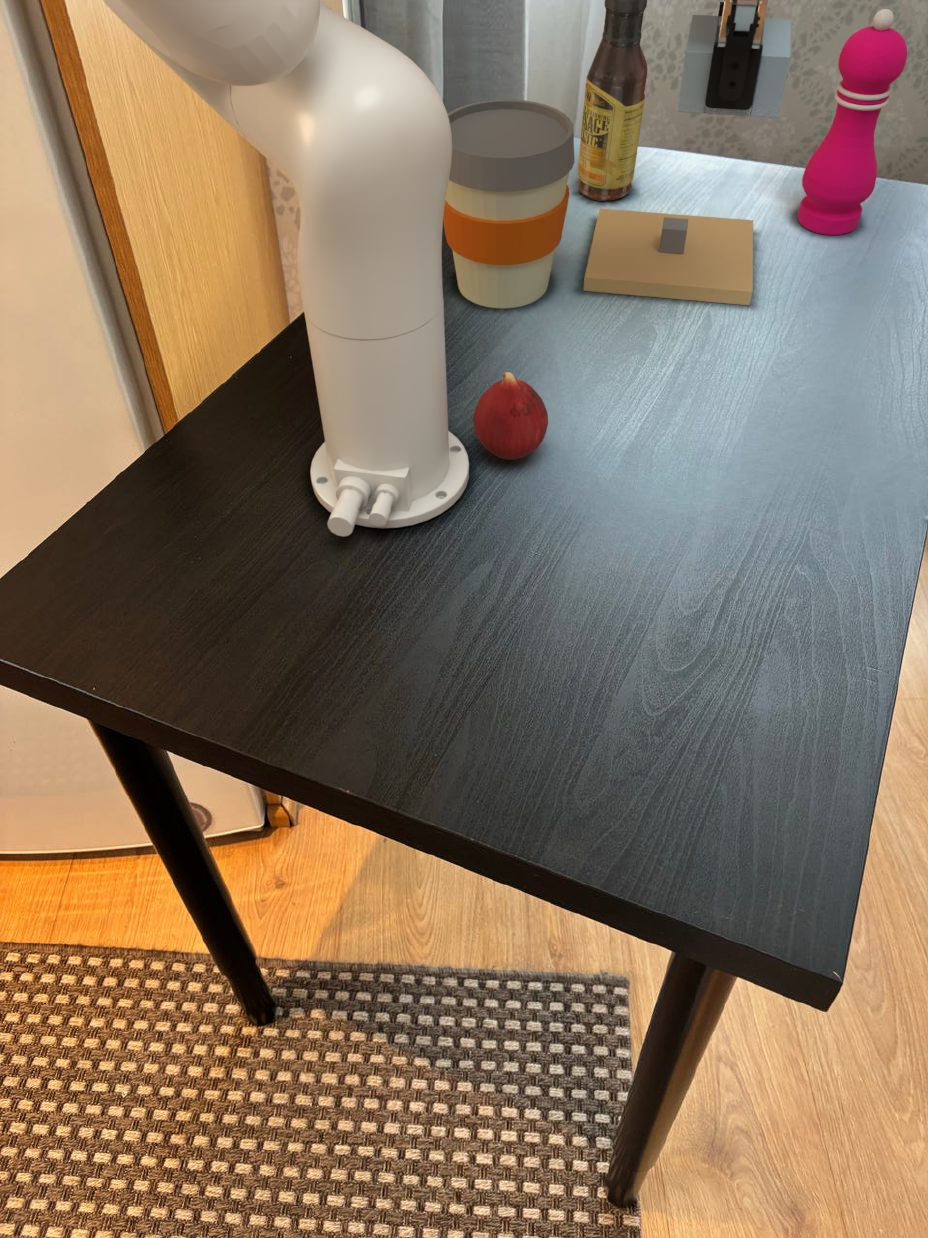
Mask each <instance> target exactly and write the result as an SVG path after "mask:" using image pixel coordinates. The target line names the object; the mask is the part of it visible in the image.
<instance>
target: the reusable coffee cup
mask: <svg viewBox="0 0 928 1238" xmlns="http://www.w3.org/2000/svg"><path fill="white" fill-rule="evenodd" d="M447 114H448V118H449V122H450V127H451V134H452V160H451V169H450V176H449V182H448V188H447V194H446V200H445V207H444V215H443V229H444V235H445V239H446V242H447V246H449V248H450V250H451V251H452V255H453V262H454V268H455V274H456V280H457V287H458V290H459V292H460V293H461V296H463V297H464V298H465V299H466V300H468V301H470V302H471V303H473V304H475V305H478V306H482V307H486V308H490V309H491V308H492V309H514V308H515V309H516V308H520V307H524V306H527V305H530V304H532V303H534V302H536V301H538V300H539V299H540V298H542V297H543V296H544V295H545V293H546V292H547V290H548V287H549V282H550V277H551V271H552V266H553V260H554V255H555V251H556V250H557V247H558V246H559V245H560V242H561V240H562V235H563V232H564V231H563V230H564V226H565V222H566V221H565V220H566V215H567V210H568V205H569V199H570V188H569V185H568V181H569V175H570V172H571V171H572V169H573V167H574V165H575V163H576V162H575V137H574V124H573V122H572V120H571V118H570V117H569V116H567V115H566V113H564V112H563V111H561V110H560V109H557V108H555V107H553V106H550V105H547V104H544V103H541V102H537V101H530V100H523V99H514V98H513V99H512V98H511V99H490V100H482V101H477V102H476V101H475V102H472V103H469V104H465V105H462V106H459V107H457V108H454V109H452V110H450V111H448V112H447Z"/></svg>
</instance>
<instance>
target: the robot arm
mask: <svg viewBox="0 0 928 1238" xmlns="http://www.w3.org/2000/svg"><path fill="white" fill-rule="evenodd" d="M102 2H104V3H105V4H106V6H107V7H108V8H109V9H110V11H111V12H112V13H113V14H115V15H116V17H117V18H118V19H119V20H120V21H121V22H122V23H123V24H124V25H125V26H126V27H127V28H128V29H129V30H130V31H131V32H133V33H134V34H135V35H136V36H137V38H139V39H140V40H141V41H142V42H143V43H144V44H145V45H146V46H147V47H148V48H149V49H150V50H151V51H152V52H153V53H154V54H155V55H156V56H157V57H158V58H159V59H160V60H161V61H162V62H163V63H164V64H166V65H167V66H168V68H170V69H171V70H172V71H173V73H175V74H176V75H177V76H178V77H179V78H180V79H181V80H182V81H183V82H184V83H185V84H186V85H187V86H188V87H189V88H190V89H192V91H194V93H196V94H197V96H199V97H200V98H201V99H202V100H203V101H204V102H205V103H206V104H207V105H208V106H209V107H211V109H212V110H213V111H215V112H216V113H217V114H218V115H219V116H220V117H221V118H222V119H223V120H224V121H225V122H226V123H227V124H228V125H229V126H230V127H231V128H232V129H234V130H235V131H236V132H237V134H239V135H240V136H241V137H242V138H243V139H244V140H245V141H246V142H247V143H248V144H249V145H251V146H252V147H253V149H255V150H256V151H257V152H258V153H260V154H261V155H262V156H263V157H264V158H266V160H268V161H269V163H271V164H272V166H274V167H275V168H276V170H277V171H278V172H279V173H280V174H282V176H284V177H285V178H286V179H287V180H288V182H290V183H291V185H292V188H294V190H295V193H296V196H297V199H298V200H297V201H298V205H299V213H300V214H299V215H300V217H299V232H298V238H297V239H298V240H297V250H296V251H297V253H296V263H297V265H296V266H297V275H298V284H299V285H298V286H299V292H300V297H301V303H302V308H303V309H302V310H303V313H304V319H305V323H306V324H305V326H306V332H307V337H308V343H309V349H310V357H311V362H312V369H313V374H314V381H315V387H316V393H317V394H316V395H317V401H318V407H319V412H320V417H321V418H320V419H321V425H322V431H323V437H324V442H323V443H321V445H320V446H319V448H318V449H317V450H316V452H315V454H314V456H313V458H312V461H311V465H310V480H311V486H312V489H313V493H314V495H315V497H316V499H317V500H318V502H319V504H321V505H322V507H323V508H324V509H326V510H327V512H329V513H330V515H329V517H328V520H327V523H326V524H327V528H328V530H329V531H330V532H331V533H332V534H334V535H336V536H338V537H342V538H343V537H349V536H350V535H351V534H352V533H353V532H354V529H355V527H356V525H357V526H362V527H366V528H374V529H375V528H377V529H396V528H397V529H398V528H399V529H400V528H404V527H408V526H409V527H410V526H415V525H417V524H420V523H424V522H426V521H427V522H428V521H430V520H431V519H433V518H436V517H438V516H440V515H441V514H443V513H444V512H445V511H447V510H448V509H450V508H451V507H453V506H454V505H455V503H456V502H457V501H458V500H459V499H461V497H462V495H463V493H464V492H465V490H466V488H467V486H468V483H469V479H470V462H469V461H470V460H469V455H468V453H467V450H466V448H465V446H464V444H463V443H462V442H461V440H460V439H459V438H458V437H457V436H456V435H454V433H452V432H451V431H450V430H449V411H448V385H447V383H448V381H447V359H446V333H445V332H446V331H445V306H444V305H445V304H444V295H443V294H444V291H443V260H442V259H443V257H442V255H443V250H442V249H443V229H444V222H443V215H444V207H445V200H446V194H447V188H448V182H449V176H450V169H451V160H452V134H451V127H450V122H449V118H448V114H447V113H448V111H447V109H446V107H445V104H444V101H443V99H442V97H441V95H440V93H439V91H438V89H437V88H436V87H435V85H434V84H433V82H432V81H431V80H430V78H429V77H428V76H427V74H426V73H425V72H424V70H422V69H421V68H420V67H419V66H418V64H416V62H415V61H413V60H412V58H410V57H408V56H407V55H406V54H404V53H403V52H402V51H401V50H399V49H398V48H396V47H395V46H394V45H392V44H390V43H388V42H387V41H385V40H383V39H382V38H381V37H378V36H377V35H375V34H374V33H372V32H370V31H369V30H367V29H365V28H364V27H362V26H361V25H360V24H356V23H354V22H353V21H351V20H349V19H348V18H347V17H345V16H343V15H341V14H340V13H339V12H337V11H335V10H334V9H333V8H331V7H330V6H329V5H328V4H327V3H326V2H325V1H324V0H102ZM768 2H769V0H723V1H720V2H719V7H718V13H717V16H719V17H720V16H722V21H721V27H720V34H719V40H718V42H714V48H713V54H712V61H711V67H710V74H709V80H708V87H707V93H706V100H705V104H706V106H707V107H708V108H720V109H737V110H748V109H749V108H751V106H752V102H753V97H754V92H755V86H756V81H757V76H758V70H759V65H760V60H761V54H762V49H763V45H760V43H761V37H762V31H763V25H764V19H765V18H766V13H767V7H768ZM728 29H729V30H728ZM727 33H728V35H727ZM726 41H727V42H726Z"/></svg>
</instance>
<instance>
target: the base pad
mask: <svg viewBox="0 0 928 1238" xmlns="http://www.w3.org/2000/svg"><path fill="white" fill-rule="evenodd" d="M593 231H594V232H593V236H592V241H591V244H590V245H591V246H590V250H589V255H588V259H587V264H586V269H585V273H584V278H583V288H582V289H583V292H593V293H603V294H604V293H605V294H614V295H627V296H637V297H649V298H660V299H672V300H683V301H694V302H695V301H696V302H705V303H717V304H729V305H740V306H750V305H751V302H752V297H753V293H754V220H753V219H743V218H742V219H741V218H731V217H730V218H729V217H716V216H702V215H691V214H675V213H665V212H663V213H662V212H651V211H638V210H635V211H634V210H625V209H612V208H611V209H609V208H599V209H598V214H597V218H596V222H595V228H594V230H593Z"/></svg>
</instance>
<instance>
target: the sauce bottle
mask: <svg viewBox="0 0 928 1238" xmlns="http://www.w3.org/2000/svg"><path fill="white" fill-rule="evenodd" d="M647 6H648V0H604V8H605V15H604V16H605V17H604V25H603V32H602V35H601V37H602V38H601V41H600V43H599V46H598V48H597V50H596V53H595V55H594V58H593V60H592V63H591V65H590V68H589V69H588V71H587V72H588V73H587V75H586V80H585V90H584V100H583V111H582V120H581V129H580V143H579V153H578V163H577V177H578V178H577V184H578V190H579V192H580V193H581V194H582V195H584V196H586V197H587V198H590V199H592V200H594V201H597V202H603V201H614V200H615V201H616V200H619V199H622V198H624V197H626V196H627V195H628V194H629V193H630V191H631V189H632V185H633V184H632V182H633V181H634V177H635V170H636V162H637V155H638V149H639V141H640V134H641V127H642V120H643V112H644V107H645V106H644V105H645V99H646V94H645V93H646V90H645V89H646V84H647V79H648V78H647V77H648V63H647V59H646V55H644V52H643V49H642V47H641V41H642V40H641V39H642V35H643V34H642V27H643V21H644V20H643V19H644V13H645V10H646V8H647Z"/></svg>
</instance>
